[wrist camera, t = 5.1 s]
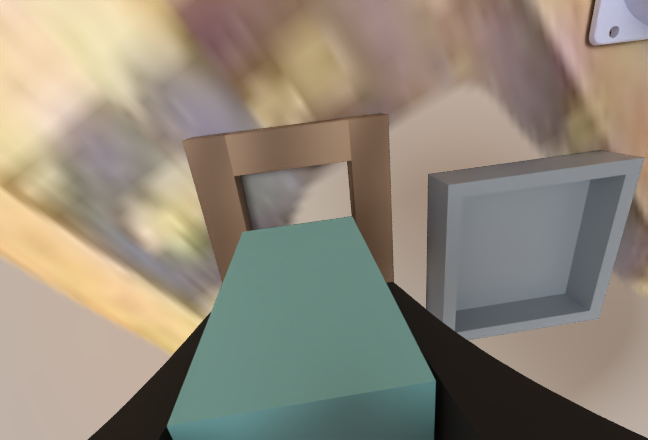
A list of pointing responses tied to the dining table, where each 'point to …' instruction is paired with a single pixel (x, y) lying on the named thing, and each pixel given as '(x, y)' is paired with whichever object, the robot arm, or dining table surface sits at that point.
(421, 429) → the peg
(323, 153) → the tan square frame
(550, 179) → the tray
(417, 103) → the dining table surface
